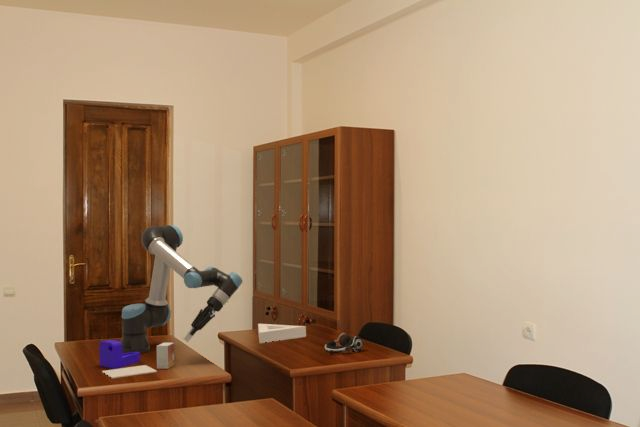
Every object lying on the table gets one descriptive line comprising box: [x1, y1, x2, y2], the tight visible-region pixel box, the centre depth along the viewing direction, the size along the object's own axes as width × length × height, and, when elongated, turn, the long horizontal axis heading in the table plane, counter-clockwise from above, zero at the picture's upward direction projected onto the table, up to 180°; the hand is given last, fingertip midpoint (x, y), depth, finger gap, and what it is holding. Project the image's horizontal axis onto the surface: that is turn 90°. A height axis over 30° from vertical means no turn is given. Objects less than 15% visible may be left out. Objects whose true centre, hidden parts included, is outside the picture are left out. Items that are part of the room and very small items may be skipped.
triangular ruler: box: [257, 323, 307, 344], centre depth 400 cm, size 30×26×6 cm
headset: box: [324, 333, 364, 355], centre depth 360 cm, size 17×8×20 cm
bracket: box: [98, 339, 141, 370], centre depth 339 cm, size 18×11×12 cm, turn 141°
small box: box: [156, 342, 176, 370], centre depth 331 cm, size 8×6×10 cm
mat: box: [101, 364, 158, 379], centre depth 322 cm, size 15×20×1 cm
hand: (185, 339), depth 335 cm, fingers closed
